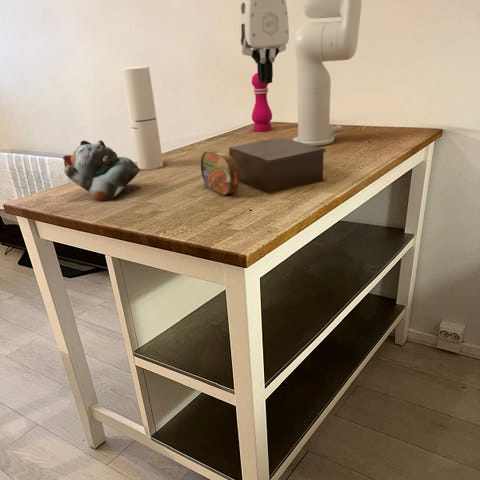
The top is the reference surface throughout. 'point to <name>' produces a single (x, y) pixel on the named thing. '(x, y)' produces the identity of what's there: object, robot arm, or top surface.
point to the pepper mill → (261, 106)
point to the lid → (276, 150)
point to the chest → (279, 172)
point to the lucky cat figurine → (99, 170)
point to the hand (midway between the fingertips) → (265, 82)
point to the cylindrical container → (142, 116)
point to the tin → (220, 172)
